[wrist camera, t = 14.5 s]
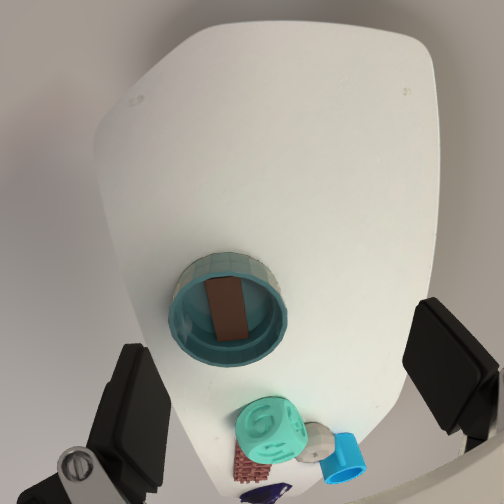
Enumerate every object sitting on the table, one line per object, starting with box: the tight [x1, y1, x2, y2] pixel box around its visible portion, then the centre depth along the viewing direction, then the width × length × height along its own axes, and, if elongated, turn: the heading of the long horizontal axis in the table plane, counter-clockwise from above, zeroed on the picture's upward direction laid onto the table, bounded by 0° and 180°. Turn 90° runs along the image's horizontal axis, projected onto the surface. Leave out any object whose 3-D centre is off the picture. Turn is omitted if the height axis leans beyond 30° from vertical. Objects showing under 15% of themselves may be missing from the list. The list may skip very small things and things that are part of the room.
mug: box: [319, 433, 366, 484], centre depth 43 cm, size 12×8×8 cm
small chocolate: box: [204, 276, 249, 342], centre depth 31 cm, size 8×4×2 cm, turn 7°
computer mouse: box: [240, 483, 292, 504], centre depth 54 cm, size 9×15×4 cm, turn 127°
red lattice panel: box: [234, 441, 272, 484], centre depth 47 cm, size 7×19×2 cm, turn 176°
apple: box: [295, 423, 335, 463], centre depth 41 cm, size 8×8×7 cm
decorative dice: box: [235, 397, 308, 464], centre depth 37 cm, size 8×8×8 cm
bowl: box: [168, 252, 287, 368], centre depth 30 cm, size 12×12×5 cm
